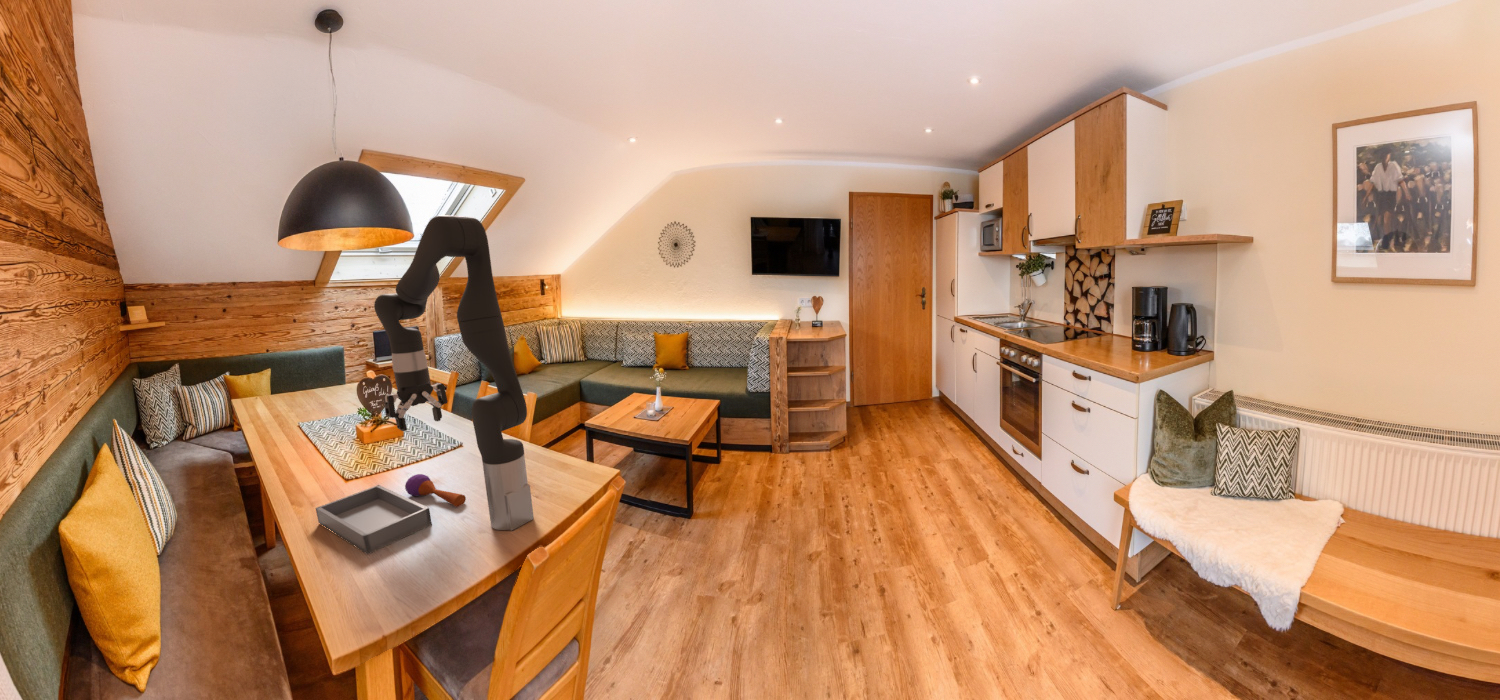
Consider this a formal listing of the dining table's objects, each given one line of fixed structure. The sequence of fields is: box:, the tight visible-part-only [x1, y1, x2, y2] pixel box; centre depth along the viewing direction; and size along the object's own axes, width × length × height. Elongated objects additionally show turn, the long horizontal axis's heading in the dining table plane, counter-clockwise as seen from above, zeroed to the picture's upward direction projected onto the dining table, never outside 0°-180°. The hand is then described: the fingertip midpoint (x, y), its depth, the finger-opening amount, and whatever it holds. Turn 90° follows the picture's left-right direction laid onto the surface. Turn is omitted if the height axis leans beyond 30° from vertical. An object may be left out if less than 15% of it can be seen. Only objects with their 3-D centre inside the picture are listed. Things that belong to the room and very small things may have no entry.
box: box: [315, 484, 432, 555], centre depth 118 cm, size 26×14×4 cm, turn 61°
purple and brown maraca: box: [404, 473, 467, 508], centre depth 130 cm, size 6×6×20 cm
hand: (421, 425), depth 129 cm, fingers open, 8 cm apart
